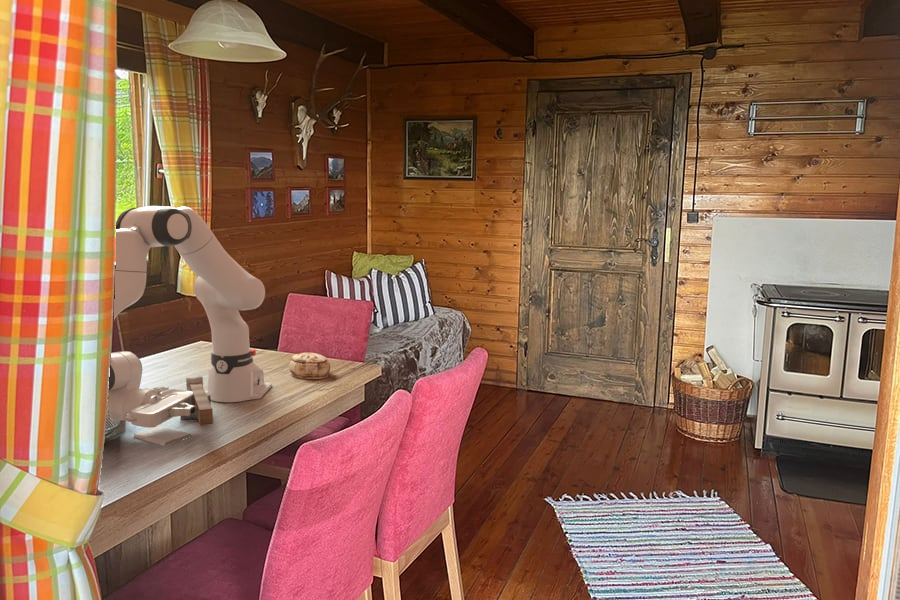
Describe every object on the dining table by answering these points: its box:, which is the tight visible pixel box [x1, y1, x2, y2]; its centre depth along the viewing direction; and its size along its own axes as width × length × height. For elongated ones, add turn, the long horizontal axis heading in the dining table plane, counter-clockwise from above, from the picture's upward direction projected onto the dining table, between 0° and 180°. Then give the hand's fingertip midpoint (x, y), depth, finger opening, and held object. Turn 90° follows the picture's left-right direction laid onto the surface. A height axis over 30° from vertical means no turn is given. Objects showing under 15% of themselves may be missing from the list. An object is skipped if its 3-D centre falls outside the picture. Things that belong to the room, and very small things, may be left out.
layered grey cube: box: [179, 394, 212, 422], centre depth 205 cm, size 6×6×6 cm
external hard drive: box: [133, 425, 192, 447], centre depth 189 cm, size 2×8×12 cm
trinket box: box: [288, 352, 331, 380], centre depth 251 cm, size 13×15×8 cm
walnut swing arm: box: [185, 375, 214, 426], centre depth 192 cm, size 30×4×5 cm, turn 25°
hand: (193, 410), depth 184 cm, fingers closed
